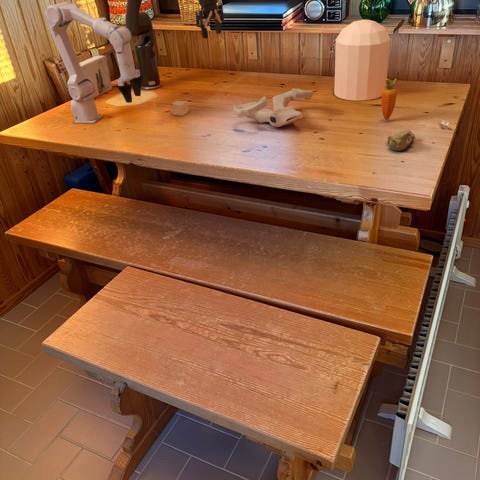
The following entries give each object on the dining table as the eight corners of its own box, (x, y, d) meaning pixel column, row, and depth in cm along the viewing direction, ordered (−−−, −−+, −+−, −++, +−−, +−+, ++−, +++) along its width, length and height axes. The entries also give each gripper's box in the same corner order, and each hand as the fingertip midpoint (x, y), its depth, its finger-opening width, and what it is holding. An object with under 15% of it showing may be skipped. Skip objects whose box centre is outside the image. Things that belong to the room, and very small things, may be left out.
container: (354, 104, 182) (359, 27, 166) (324, 91, 198) (325, 20, 182) (396, 93, 189) (404, 18, 173) (363, 81, 205) (368, 12, 189)
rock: (408, 140, 153) (379, 139, 152) (414, 122, 149) (384, 120, 148) (421, 154, 144) (391, 153, 143) (428, 135, 140) (396, 133, 139)
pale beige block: (173, 114, 191) (171, 103, 188) (179, 110, 194) (177, 100, 191) (182, 115, 189) (180, 104, 186) (188, 111, 192) (186, 101, 189)
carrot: (394, 118, 167) (398, 76, 158) (393, 123, 163) (397, 80, 154) (379, 117, 168) (383, 75, 160) (378, 122, 165) (382, 80, 156)
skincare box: (87, 102, 214) (77, 67, 204) (78, 102, 215) (68, 66, 206) (113, 88, 229) (105, 54, 220) (104, 88, 231) (96, 54, 222)
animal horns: (230, 133, 167) (227, 101, 161) (244, 110, 188) (241, 81, 182) (308, 133, 161) (308, 99, 155) (313, 109, 182) (314, 78, 176)
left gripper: (126, 68, 166) (134, 105, 173) (144, 57, 177) (150, 93, 185) (109, 68, 168) (117, 105, 175) (127, 58, 179) (134, 93, 187)
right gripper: (211, -13, 184) (216, 31, 193) (187, -7, 175) (193, 39, 184) (226, -13, 180) (230, 32, 189) (202, -7, 171) (208, 40, 180)
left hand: (133, 99), depth 180 cm, fingers open, 7 cm apart
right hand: (212, 35), depth 187 cm, fingers open, 8 cm apart
